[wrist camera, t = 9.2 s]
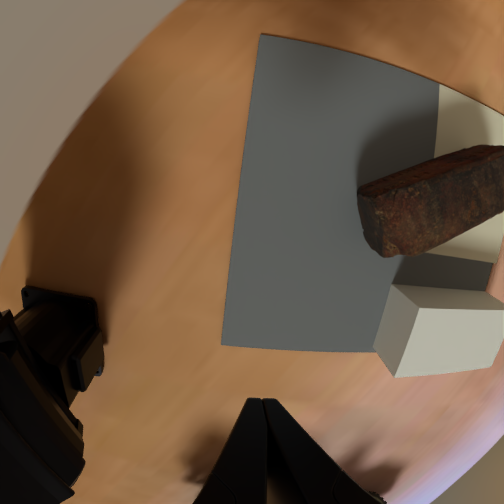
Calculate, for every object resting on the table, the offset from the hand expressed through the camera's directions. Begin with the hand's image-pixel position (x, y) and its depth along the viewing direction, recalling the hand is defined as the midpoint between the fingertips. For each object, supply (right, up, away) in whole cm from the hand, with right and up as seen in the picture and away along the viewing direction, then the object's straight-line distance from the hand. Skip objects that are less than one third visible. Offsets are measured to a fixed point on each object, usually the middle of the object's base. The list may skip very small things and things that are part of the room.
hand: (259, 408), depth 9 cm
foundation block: (+14, -1, +13) cm, 19 cm away
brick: (+11, +9, +11) cm, 18 cm away
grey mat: (+9, +7, +11) cm, 16 cm away
